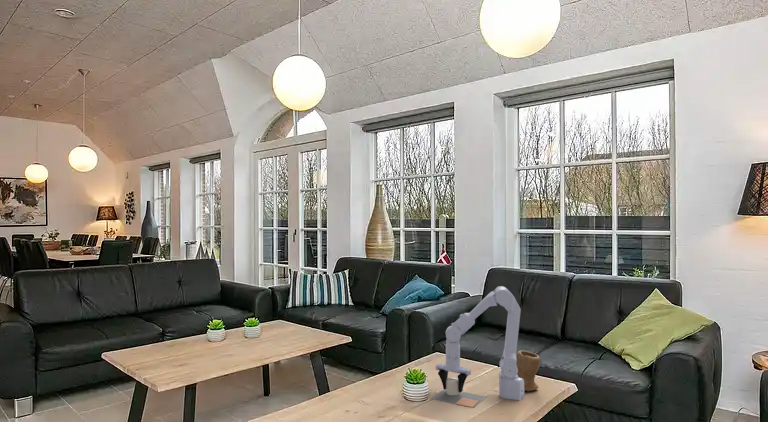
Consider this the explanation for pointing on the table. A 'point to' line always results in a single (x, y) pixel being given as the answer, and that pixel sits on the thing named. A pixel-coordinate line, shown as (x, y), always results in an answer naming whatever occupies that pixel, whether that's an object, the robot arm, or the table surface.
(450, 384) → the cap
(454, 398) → the base board
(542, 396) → the table surface
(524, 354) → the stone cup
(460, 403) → the terracotta pad
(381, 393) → the table surface
